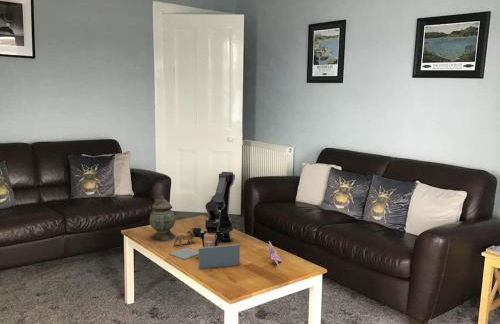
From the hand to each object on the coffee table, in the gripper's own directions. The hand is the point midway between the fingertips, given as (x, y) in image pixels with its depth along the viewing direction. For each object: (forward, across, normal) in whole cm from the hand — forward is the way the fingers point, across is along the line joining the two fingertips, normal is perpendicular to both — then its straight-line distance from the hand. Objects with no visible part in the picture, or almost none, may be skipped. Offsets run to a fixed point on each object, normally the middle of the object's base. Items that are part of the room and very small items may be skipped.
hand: (209, 248), depth 226 cm
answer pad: (-2, -15, +12) cm, 19 cm away
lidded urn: (-18, -35, +29) cm, 49 cm away
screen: (+8, +6, +2) cm, 10 cm away
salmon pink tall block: (+4, 0, +6) cm, 7 cm away
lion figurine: (-12, -19, +23) cm, 32 cm away
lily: (+2, +31, +8) cm, 32 cm away
